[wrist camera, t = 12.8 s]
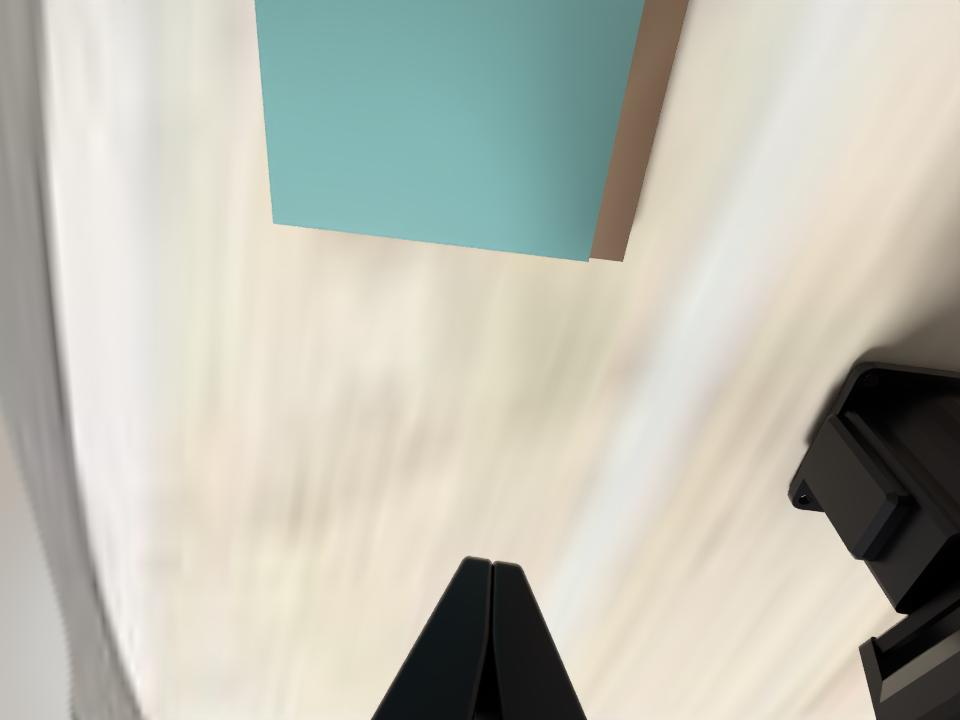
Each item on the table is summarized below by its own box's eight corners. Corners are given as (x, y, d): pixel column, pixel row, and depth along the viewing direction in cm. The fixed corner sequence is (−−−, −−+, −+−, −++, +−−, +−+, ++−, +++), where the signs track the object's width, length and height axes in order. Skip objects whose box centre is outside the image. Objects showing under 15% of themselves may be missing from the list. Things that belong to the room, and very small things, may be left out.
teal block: (608, -80, 13) (678, -155, 7) (563, 175, 16) (588, 262, 10) (359, -111, 13) (237, -210, 7) (360, 150, 16) (273, 223, 10)
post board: (720, -181, 13) (865, -322, 7) (616, 247, 18) (658, 344, 13) (273, -238, 13) (95, -423, 7) (298, 208, 18) (204, 289, 12)
